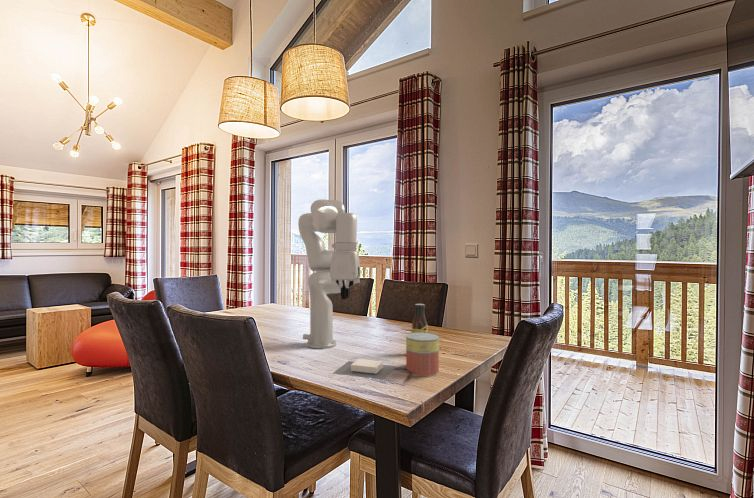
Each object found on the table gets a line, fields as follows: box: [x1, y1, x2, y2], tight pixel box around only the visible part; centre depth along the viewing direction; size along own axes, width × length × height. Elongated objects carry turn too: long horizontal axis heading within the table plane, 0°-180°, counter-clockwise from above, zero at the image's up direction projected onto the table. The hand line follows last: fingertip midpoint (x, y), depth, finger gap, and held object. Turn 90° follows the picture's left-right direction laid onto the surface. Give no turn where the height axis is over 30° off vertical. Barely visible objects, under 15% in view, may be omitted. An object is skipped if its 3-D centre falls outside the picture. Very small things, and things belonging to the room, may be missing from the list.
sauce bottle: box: [411, 303, 429, 333], centre depth 151 cm, size 7×6×20 cm
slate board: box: [332, 360, 397, 381], centre depth 130 cm, size 18×14×1 cm
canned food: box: [405, 332, 440, 378], centre depth 132 cm, size 11×11×12 cm
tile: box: [351, 358, 384, 374], centre depth 130 cm, size 2×7×9 cm
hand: (345, 298), depth 137 cm, fingers closed
